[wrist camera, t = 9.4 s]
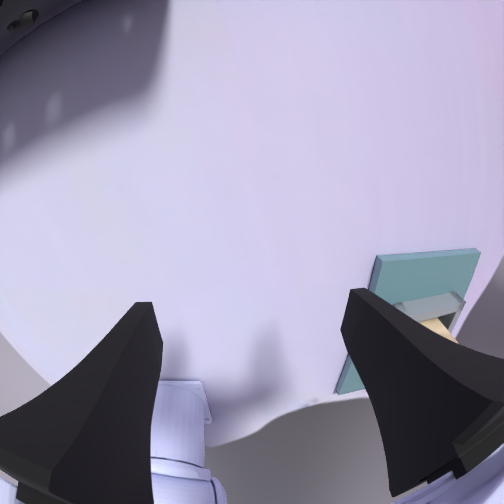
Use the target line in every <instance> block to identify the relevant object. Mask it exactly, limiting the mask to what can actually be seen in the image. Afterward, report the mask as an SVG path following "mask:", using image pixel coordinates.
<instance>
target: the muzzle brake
mask: <svg viewBox="0 0 504 504" xmlns="http://www.w3.org/2000/svg"><path fill="white" fill-rule="evenodd" d="M80 1H82V0H0V55H1V54H2V53H3V52H5V51H6V50H7V49H8V48H9V47H11V46H12V45H13V44H14V43H16V42H17V41H18V40H20V39H21V38H22V37H24V36H25V35H26V34H28V33H29V32H31V31H32V30H34V29H35V28H36V27H38V26H39V25H41V24H42V23H44V22H46V21H47V20H49V19H50V18H52V17H54V16H55V15H57V14H59V13H60V12H62V11H64V10H66V9H67V8H69V7H71V6H73V5H75V4H77V3H78V2H80Z"/></svg>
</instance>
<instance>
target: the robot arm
mask: <svg viewBox="0 0 504 504" xmlns="http://www.w3.org/2000/svg"><path fill="white" fill-rule="evenodd" d="M340 330H341V333H342V336H343V340H344V343H345V346H346V348H347V351H348V354H349V356H350V358H351V360H352V362H353V364H354V366H355V368H356V370H357V372H358V374H359V377H360V379H361V381H362V383H363V385H364V387H365V389H366V391H367V393H368V395H369V398H370V400H371V403H372V405H373V409H374V412H375V415H376V418H377V421H378V425H379V428H380V433H381V437H382V441H383V445H384V451H385V455H386V461H387V468H388V477H389V490H390V492H391V495H392V497H395V496H398V495H400V494H402V493H404V492H406V491H408V490H410V489H412V488H414V487H416V486H418V485H420V484H422V483H424V482H426V481H427V483H428V485H427V486H425V487H423V488H421V489H419V490H417V491H415V492H414V493H412V494H410V495H407V496H405V497H403V498H401V499H399V500H397V501H395V502H392V503H390V504H504V359H501V358H497V357H494V356H490V355H487V354H483V353H480V352H477V351H475V350H472V349H470V348H467V347H465V346H462V345H460V344H458V343H455V342H453V341H451V340H449V339H447V338H445V337H443V336H441V335H439V334H437V333H436V332H434V331H432V330H430V329H429V328H427V327H425V326H424V325H422V324H420V323H419V322H417V321H415V320H414V319H412V318H411V317H409V316H408V315H406V314H405V313H403V312H402V311H400V310H399V309H397V308H396V307H394V306H393V305H391V304H390V303H388V302H387V301H385V300H384V299H382V298H381V297H379V296H378V295H376V294H374V293H373V292H371V291H369V290H368V289H366V288H357V289H350V293H349V298H348V302H347V306H346V310H345V314H344V318H343V322H342V326H341V329H340ZM162 352H163V341H162V338H161V334H160V331H159V327H158V324H157V320H156V316H155V312H154V309H153V305H152V302H136V303H135V304H134V305H133V306H132V307H131V308H130V309H129V310H128V311H127V313H126V314H125V315H124V316H123V317H122V318H121V319H120V320H119V322H118V323H117V324H116V325H115V326H114V327H113V328H112V329H111V331H110V332H109V333H108V334H107V335H106V336H105V337H104V338H103V339H102V341H101V342H100V343H99V344H98V345H97V346H96V347H95V348H94V349H93V350H92V351H91V352H90V353H89V354H88V355H87V356H86V357H85V358H84V359H83V360H82V361H81V362H80V363H79V364H78V365H77V366H75V367H74V368H73V369H72V370H71V371H70V372H69V373H67V374H66V375H65V376H64V377H63V378H61V379H60V380H59V381H58V382H56V383H55V384H54V385H52V386H51V387H50V388H48V389H47V390H45V391H44V392H43V393H42V394H40V395H39V396H37V397H35V398H34V399H33V400H31V401H29V402H27V403H26V404H24V405H22V406H21V407H19V408H17V409H15V410H13V411H11V412H10V413H7V414H5V415H3V416H1V417H0V470H2V471H3V472H5V473H6V474H8V475H9V476H11V477H13V478H14V479H16V480H18V481H19V482H18V487H17V486H15V485H13V484H12V483H10V482H8V481H7V480H5V479H3V478H2V477H0V504H227V498H226V494H225V490H224V488H223V486H222V484H221V483H220V482H219V481H218V480H217V479H216V478H214V477H211V472H210V470H209V469H205V439H204V424H211V423H212V418H211V414H210V410H209V406H208V402H207V398H206V394H205V390H204V385H203V383H202V382H201V381H162V380H159V377H160V372H161V365H162Z"/></svg>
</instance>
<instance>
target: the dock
mask: <svg viewBox="0 0 504 504" xmlns="http://www.w3.org/2000/svg"><path fill="white" fill-rule="evenodd" d="M480 254H481V252H480V251H478V250H477V249H475V248H472V249H460V250H447V251H434V252H420V253H406V254H392V255H377V257H376V261H375V266H374V270H373V274H372V278H371V282H370V286H369V291H371V292H373V293H374V294H376V295H378V296H379V297H381V298H382V299H384V300H385V301H387V302H388V303H390V304H391V305H393V306H394V307H396V308H397V309H399V310H400V311H402V312H403V313H405V314H406V315H408V316H409V317H411V318H412V319H414V320H415V321H417V322H420V321H424V320H428V319H432V318H436V317H437V318H438V319H439V320H440V322H441V323H442V324H443V325H444V326H445V328H446V329H447V330H448V331H449V332H450V334H451V332H452V330H453V328H454V326H455V324H456V322H457V320H458V318H459V316H460V314H461V311H462V309H463V307H464V305H465V303H466V302H465V301H464V300H463V299H464V296H465V294H466V292H467V289H468V287H469V284H470V282H471V279H472V276H473V274H474V271H475V268H476V265H477V263H478V260H479V257H480ZM362 389H365V387H364V385H363V383H362V381H361V379H360V377H359V374H358V372H357V370H356V368H355V366H354V364H353V362H352V360H351V358H350V356H349V355H348V358H347V360H346V363H345V366H344V369H343V371H342V374H341V377H340V379H339V382H338V384H337V387H336V391H337V393H338V395H341V394H345V393H349V392H354V391H358V390H362Z"/></svg>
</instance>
